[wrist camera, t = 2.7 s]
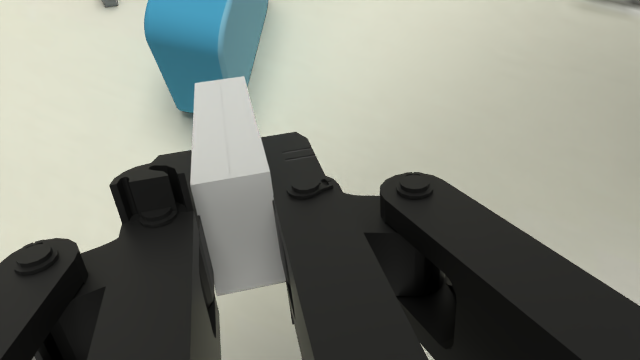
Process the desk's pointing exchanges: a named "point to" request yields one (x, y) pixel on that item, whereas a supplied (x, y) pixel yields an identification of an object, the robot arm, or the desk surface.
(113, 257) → the robot arm
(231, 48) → the data package
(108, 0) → the dock bay
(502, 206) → the desk surface
